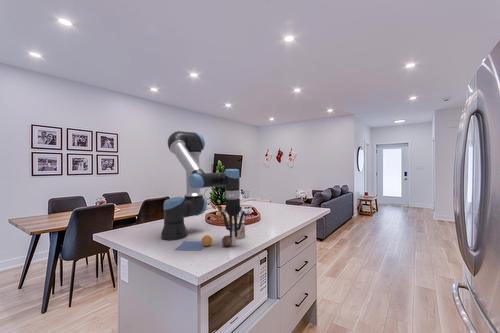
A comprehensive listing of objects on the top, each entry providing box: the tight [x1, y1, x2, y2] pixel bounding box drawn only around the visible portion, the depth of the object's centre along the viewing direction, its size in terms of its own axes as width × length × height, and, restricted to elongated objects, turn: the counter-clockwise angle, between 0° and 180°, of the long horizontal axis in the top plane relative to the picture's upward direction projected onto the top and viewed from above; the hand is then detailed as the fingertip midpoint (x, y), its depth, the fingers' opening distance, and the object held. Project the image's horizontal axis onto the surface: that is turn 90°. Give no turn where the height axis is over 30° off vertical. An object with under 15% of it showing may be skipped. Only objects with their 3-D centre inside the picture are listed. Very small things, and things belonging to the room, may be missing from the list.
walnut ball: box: [221, 235, 233, 247], centre depth 124 cm, size 6×6×6 cm
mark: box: [174, 240, 206, 251], centre depth 126 cm, size 14×14×1 cm
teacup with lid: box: [231, 216, 246, 240], centre depth 142 cm, size 12×9×12 cm
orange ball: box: [201, 234, 213, 247], centre depth 125 cm, size 6×6×6 cm
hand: (233, 243), depth 124 cm, fingers closed
